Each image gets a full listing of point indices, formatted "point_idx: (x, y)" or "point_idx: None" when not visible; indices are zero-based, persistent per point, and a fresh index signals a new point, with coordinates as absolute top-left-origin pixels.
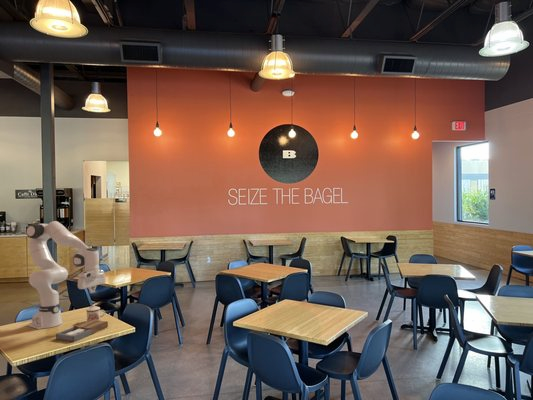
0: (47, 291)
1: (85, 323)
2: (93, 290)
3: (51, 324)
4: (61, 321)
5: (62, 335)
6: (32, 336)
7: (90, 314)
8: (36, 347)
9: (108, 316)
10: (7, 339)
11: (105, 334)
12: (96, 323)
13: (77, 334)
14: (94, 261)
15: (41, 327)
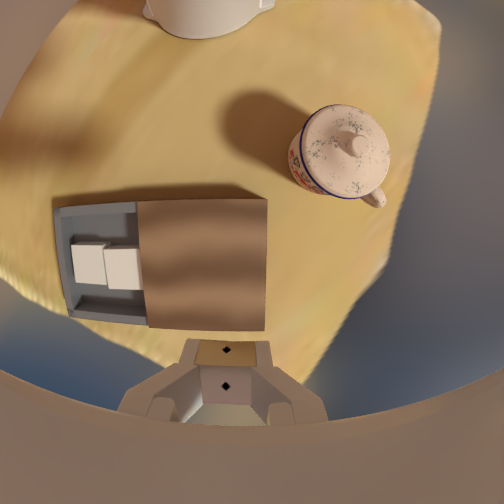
0: None
1: (195, 230)
2: (234, 399)
3: (174, 27)
4: (238, 21)
5: (58, 250)
6: (73, 77)
7: (300, 164)
8: (15, 212)
9: (404, 181)
10: (49, 41)
11: None
12: (217, 295)
13: (85, 314)
14: None
15: (149, 16)
